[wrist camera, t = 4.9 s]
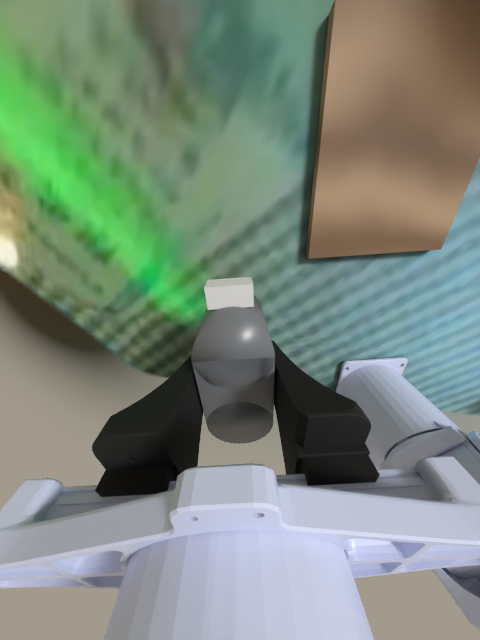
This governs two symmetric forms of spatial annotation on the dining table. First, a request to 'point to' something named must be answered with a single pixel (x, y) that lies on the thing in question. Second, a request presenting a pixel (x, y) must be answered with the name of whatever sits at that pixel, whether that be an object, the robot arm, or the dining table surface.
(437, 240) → the walnut pad
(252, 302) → the grey rounded bottle
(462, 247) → the dining table surface
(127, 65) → the dining table surface
